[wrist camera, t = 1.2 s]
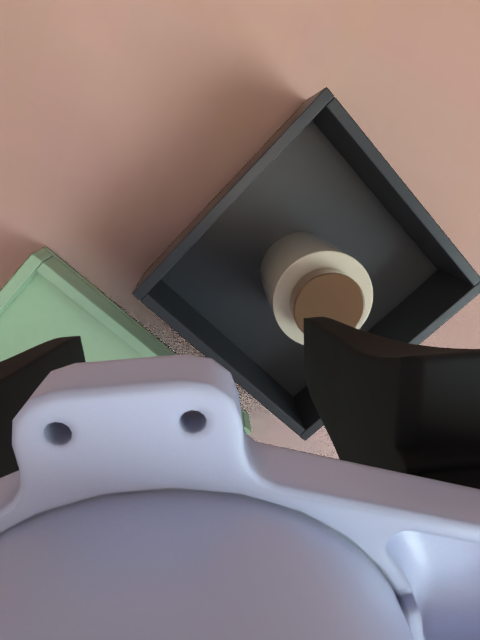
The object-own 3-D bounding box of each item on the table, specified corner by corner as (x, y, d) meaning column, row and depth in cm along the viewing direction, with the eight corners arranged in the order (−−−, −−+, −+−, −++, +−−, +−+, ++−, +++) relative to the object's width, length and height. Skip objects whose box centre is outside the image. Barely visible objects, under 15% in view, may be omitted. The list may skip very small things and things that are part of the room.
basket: (446, 267, 24) (488, 286, 20) (292, 403, 27) (305, 441, 23) (306, 99, 21) (327, 86, 17) (144, 273, 23) (131, 294, 19)
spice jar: (355, 271, 23) (403, 306, 18) (297, 325, 24) (324, 376, 18) (302, 213, 22) (335, 232, 16) (243, 273, 23) (254, 310, 17)
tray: (249, 414, 27) (252, 432, 25) (152, 501, 28) (148, 524, 27) (46, 245, 22) (31, 253, 20) (-54, 362, 24) (-75, 377, 22)
